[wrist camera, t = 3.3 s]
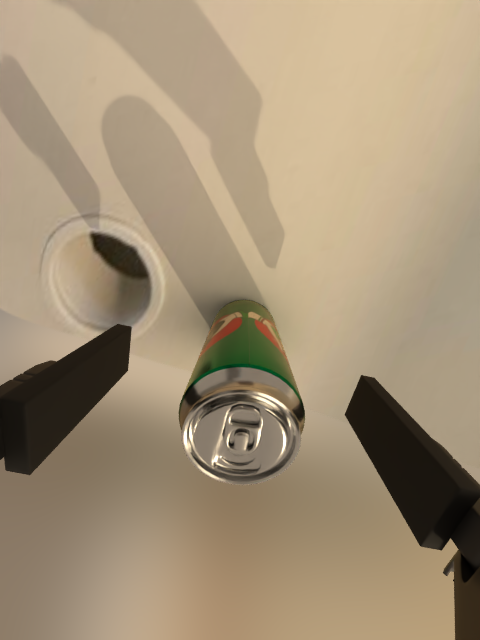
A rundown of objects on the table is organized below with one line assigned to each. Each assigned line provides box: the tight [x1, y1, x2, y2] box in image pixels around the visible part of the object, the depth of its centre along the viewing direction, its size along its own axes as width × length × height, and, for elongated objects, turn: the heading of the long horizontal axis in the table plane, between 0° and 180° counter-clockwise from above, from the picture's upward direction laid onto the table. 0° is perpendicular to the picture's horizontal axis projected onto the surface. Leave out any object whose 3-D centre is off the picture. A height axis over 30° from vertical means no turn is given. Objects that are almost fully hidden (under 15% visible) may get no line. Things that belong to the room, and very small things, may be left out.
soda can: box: [179, 300, 305, 485], centre depth 14 cm, size 5×5×12 cm
